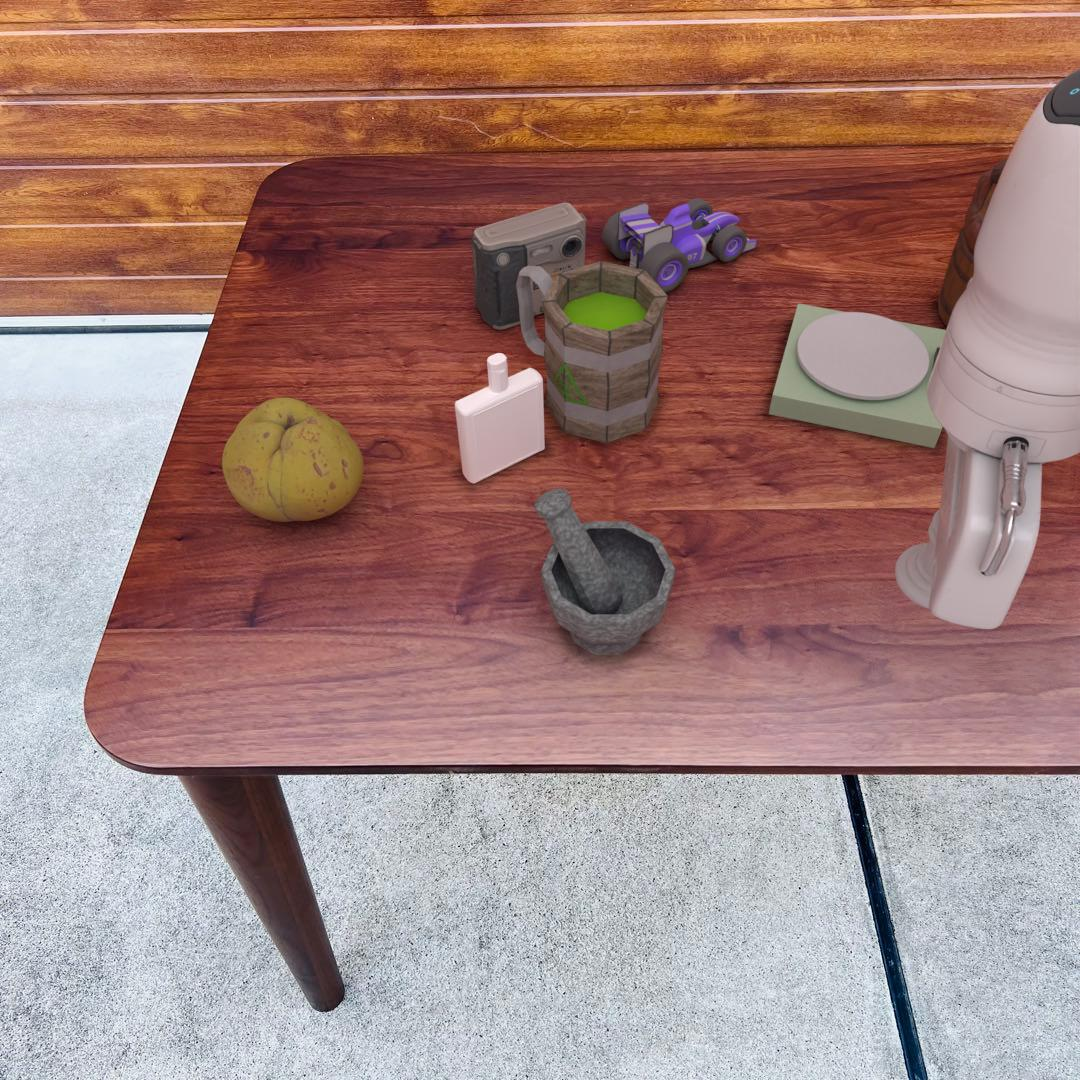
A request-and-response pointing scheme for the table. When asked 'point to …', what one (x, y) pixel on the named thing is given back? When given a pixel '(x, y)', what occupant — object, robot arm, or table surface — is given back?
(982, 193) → the wooden figurine
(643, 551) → the mortar and pestle
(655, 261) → the toy race car
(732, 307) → the table surface
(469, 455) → the perfume bottle
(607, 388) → the mug
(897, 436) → the scale
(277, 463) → the fruit
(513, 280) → the camera
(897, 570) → the chess piece
